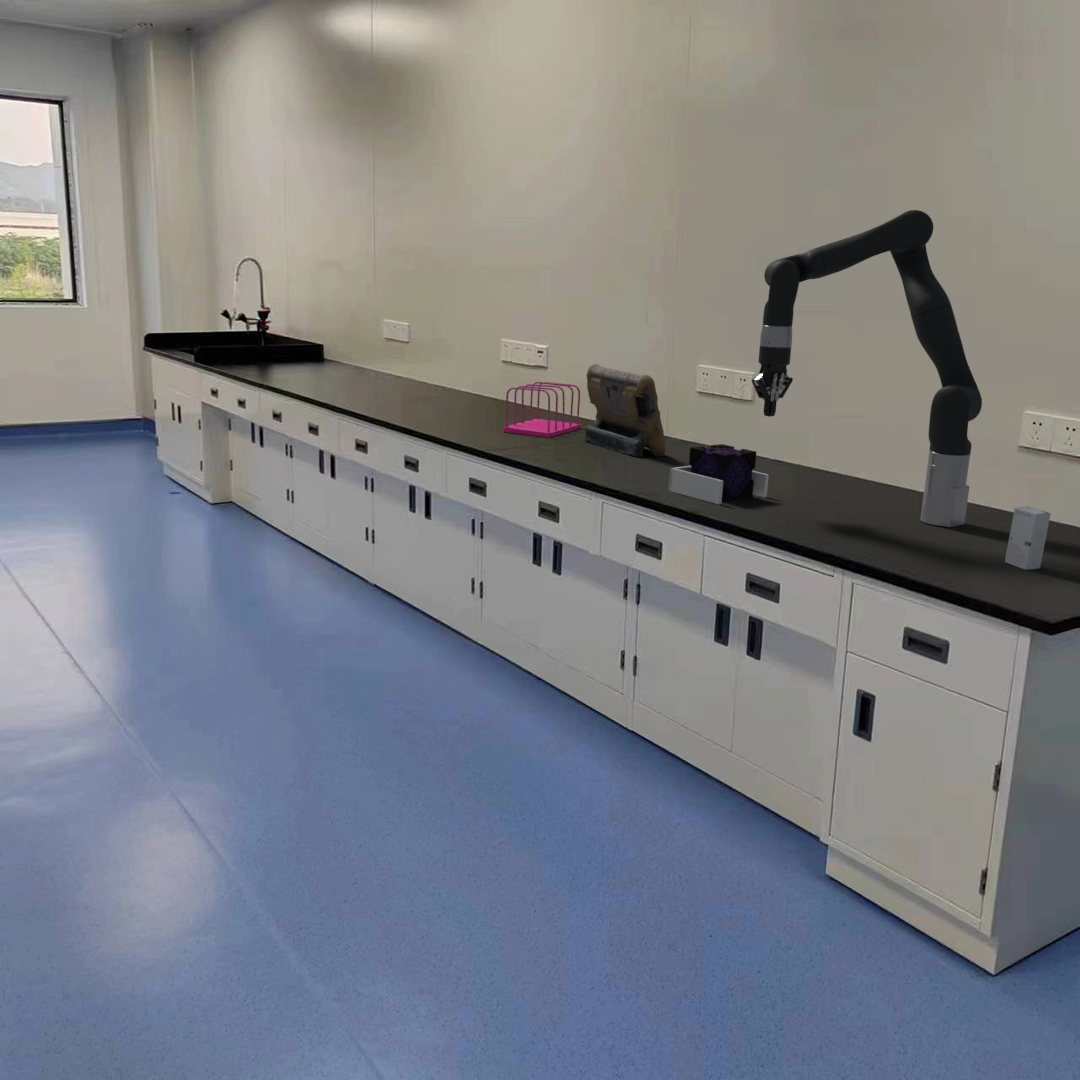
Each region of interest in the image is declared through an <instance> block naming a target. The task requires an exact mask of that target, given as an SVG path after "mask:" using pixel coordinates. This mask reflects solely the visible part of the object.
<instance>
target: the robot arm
mask: <svg viewBox="0 0 1080 1080" xmlns="http://www.w3.org/2000/svg"><path fill="white" fill-rule="evenodd" d="M933 232H934V222H933V220H932V218H931V217H930V215H929V214H927V212H924V211H922V210H918V209H912V210H911V209H910V210H907V211H904V212H903V213H901V214H899V215H897V216H895V217H893V218H892V219H890V220H888V221H886V222H884V223H882V224H880V225H877V226H875V227H872V228H871V229H867V230H866V231H863V232H860V233H857V234H855V235H851V236H849V237H846V238H841V239H839V240H837V241H833V242H830V243H826V244H824V245H821V246H818V247H814V248H812V249H809V250H808V251H805V252H802V253H797V254H794V255H789V256H786V257H782V258H779V259H775V260H773V261H772V262H770V263H769V264H768V265H767V266H766V268H765V270H764V281H765V283H766V284H767V285H768V287H769V289H768V299H767V301H766V303H765V305H764V308H763V316H762V327H761V331H760V338H759V339H760V340H759V349H758V350H759V351H758V363H759V364H760V368H759V371H758V374H759V375H758V376H756V377H753V378H752V379H751V383H752V385H753V387H754V389H755V391H756V394H757V396H758V398H759V399H762V400H763V401H764V403H763V415H764V416H765V417H774V416H776V409H777V402H778V401H779V399H783V398H784V396H785V395H786V393H787V391H788V390H789V388H790V386H791V384H792V383H793V381H794V380H793V379H794V378H793V377H791V376H789V375H788V369H787V366H789V365H790V363H791V353H792V344H793V343H792V342H793V322H794V307H795V302H796V298H797V295H798V291H799V286H800V283H802V282H804V281H808V280H817V279H820V278H823V277H828V276H830V275H833V274H836V273H839V272H842V271H844V270H847V269H849V268H851V267H853V266H855V265H858V264H859V263H863V262H864V261H866V260H868V259H870V258H873V257H875V256H878V255H881V254H884V253H887V252H890V254H891V258H892V259H893V261H894V263H895V265H896V268H897V270H898V273H899V276H900V279H901V281H902V286H903V291H904V294H905V299H906V302H907V305H908V309H909V312H910V313H909V314H910V316H911V317H910V318H911V321H912V324H913V327H914V331H915V335H916V337H917V339H918V341H919V343H920V345H921V346H922V348H923V349H924V351H925V352H926V354H927V356H928V357H929V358H930V360H931V362H932V363H933V365H934V366H935V369H936V370H937V373H938V377H939V380H940V383H941V388H940V389H938V390H937V392H936V393H935V394H934V397H933V398H932V401H931V404H930V405H931V406H930V410H929V411H930V412H929V422H928V440H929V451H928V452H929V453H928V458H927V459H928V460H927V464H926V465H927V467H926V474H925V481H924V489H923V496H922V504H921V511H920V514H921V515H920V521H921V522H922V523H925V524H929V525H933V526H939V527H947V528H953V527H958V526H963V525H965V523H966V521H965V520H966V515H967V506H968V501H969V500H968V499H969V494H970V485H967V482H968V473H969V466H970V459H971V452H972V442H971V441H970V440H969V438H968V431H969V430H968V428H969V422H972V421H974V420H975V419H976V418H977V417H978V416H979V414H980V413H981V410H982V407H983V400H982V394H981V391H980V390H979V387H978V384H977V383H976V380H975V378H974V375H973V373H972V370H971V369H970V366H969V363H968V360H967V358H966V357H967V356H966V353H965V350H964V347H963V346H964V345H963V341H962V339H961V336H960V332H959V329H958V325H957V320H956V317H955V313H954V311H953V307H952V304H951V300H950V298H949V296H948V294H947V293H946V291H945V289H944V288H943V286H942V284H941V283H940V282H939V281H938V279H937V277H936V275H935V274H934V272H933V270H932V267H931V264H930V260H929V257H928V251H927V245H926V244H927V243H929V241H930V239H931V238H932V236H933V234H934V233H933Z"/></svg>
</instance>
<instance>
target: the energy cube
mask: <svg viewBox="0 0 1080 1080" xmlns="http://www.w3.org/2000/svg"><path fill="white" fill-rule="evenodd" d="M756 460H757V451H755V450H752V449H747V448H746V449H745V448H741V449H737V448H735V446H732V445H727V444H722V443H721V444H713V445H710V447H705V446H693V447H690V448H689V459H688V464H689V466H691V473H695V474H699V475H703V476H707V477H711V478H715V479H719V480H723V490H722V502H727V501H728V502H729V501H733V499H735V498H738V499H741V500H743V499H747V498H753V496H754V495H753V485H754V481H753V480H752V471H754V469H756V464H757V463H756V462H757V461H756Z"/></svg>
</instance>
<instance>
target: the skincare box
mask: <svg viewBox="0 0 1080 1080" xmlns="http://www.w3.org/2000/svg"><path fill="white" fill-rule="evenodd" d="M1051 514H1052V513H1051V512H1048V511H1045V510H1042V509H1039V508H1035V507H1031V506H1028V505H1027V506H1018V507H1017V506H1016V507H1014V510H1013V516H1012V522H1011V527H1010V532H1009V536H1008V543H1007V547H1006V554H1005V559H1004V562H1005V563H1006V564H1009V565H1011V566H1014V567H1017V568H1019V569H1022V570H1025V571H1026V570H1037V569H1040V568H1041V564H1042V561H1043V555H1044V549H1045V545H1046V540H1047V535H1048V529H1049V524H1050V519H1051Z"/></svg>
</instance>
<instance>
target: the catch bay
mask: <svg viewBox="0 0 1080 1080" xmlns="http://www.w3.org/2000/svg"><path fill="white" fill-rule="evenodd" d="M668 473H669V474H668V487H667V488H668V492H672V493H675V494H679V495H683V496H685V497H690V498H694V499H697V500H701V501H704V502H707V503H711V504H712V503H713V504H715V505H722V502H723V501H722V490H723V480H719V479H715V478H711V477H707V476H703V475H699V474H695V473H691V465H685V466H678V467H677V466H676V467H670V468H669V472H668ZM769 476H770V475H769V474H767V473H763V472H760V471H755V470H752V480H753V481H754V485H753V496H757V497H760V498H767V495H768V486H769Z"/></svg>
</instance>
